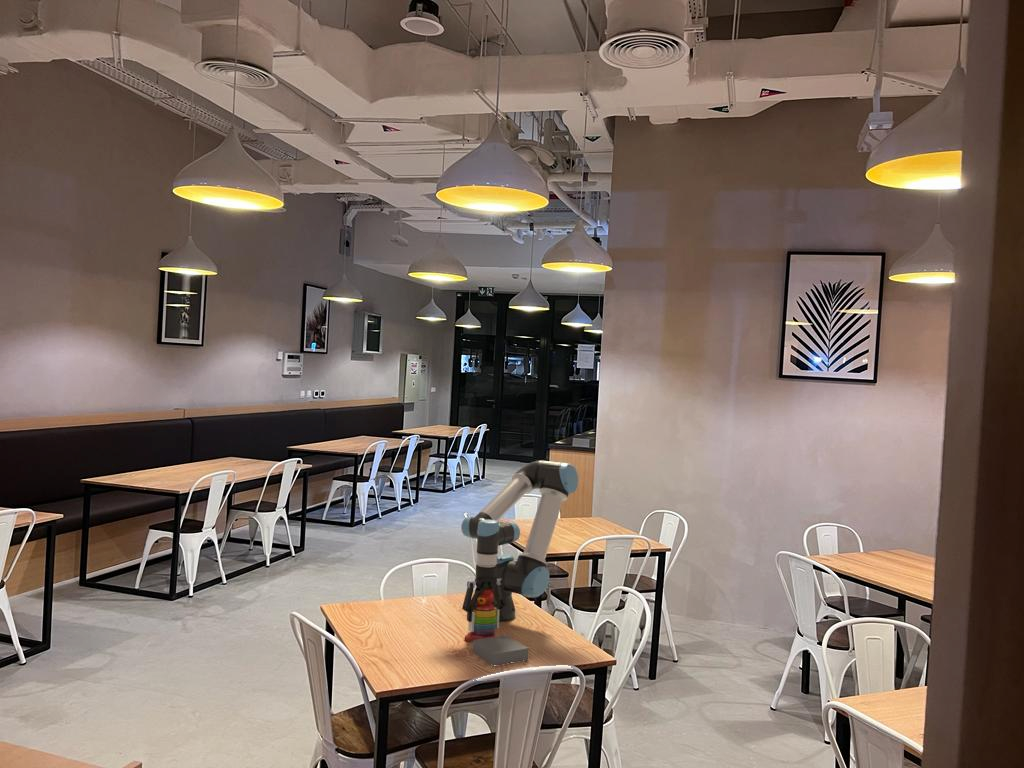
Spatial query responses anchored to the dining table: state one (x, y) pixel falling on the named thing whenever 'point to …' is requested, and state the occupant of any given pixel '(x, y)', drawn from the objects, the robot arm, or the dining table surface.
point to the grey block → (500, 650)
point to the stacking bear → (484, 617)
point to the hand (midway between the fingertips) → (483, 628)
